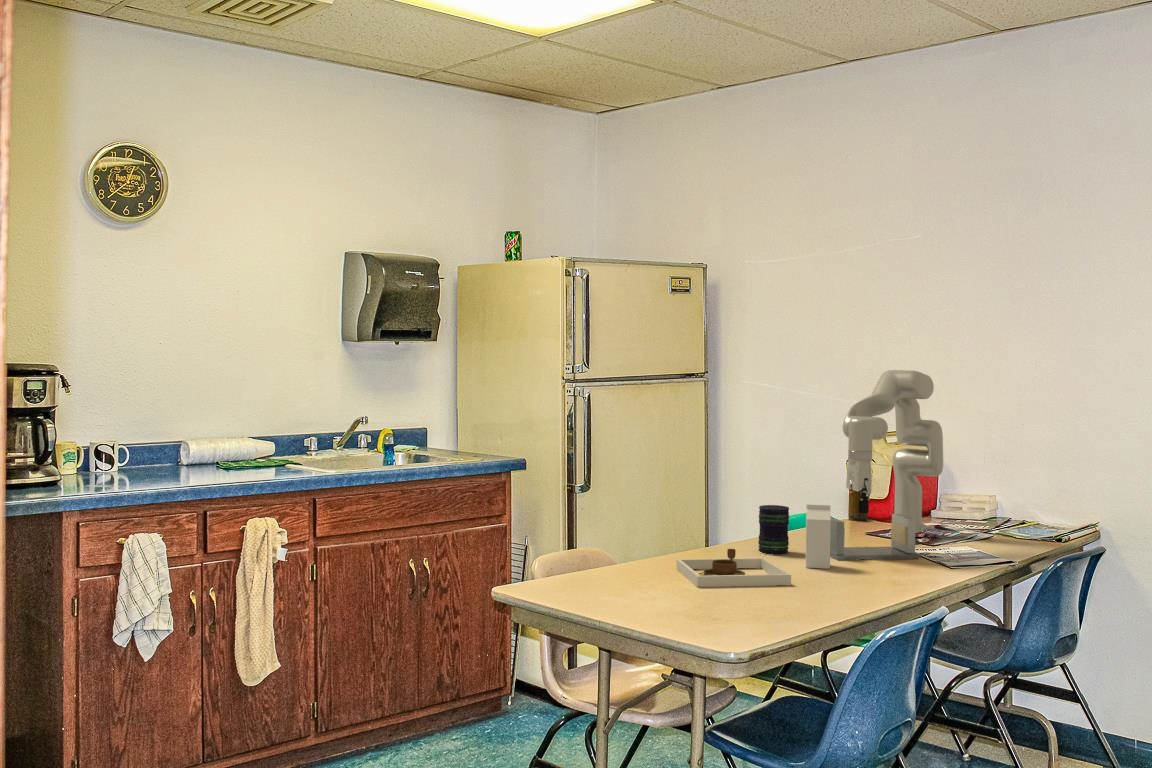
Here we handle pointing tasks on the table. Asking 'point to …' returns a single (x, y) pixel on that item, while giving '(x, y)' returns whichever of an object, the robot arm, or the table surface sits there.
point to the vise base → (860, 552)
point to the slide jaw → (903, 533)
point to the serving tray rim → (771, 579)
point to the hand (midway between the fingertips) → (859, 510)
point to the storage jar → (773, 529)
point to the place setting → (724, 566)
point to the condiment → (856, 508)
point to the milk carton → (818, 536)
